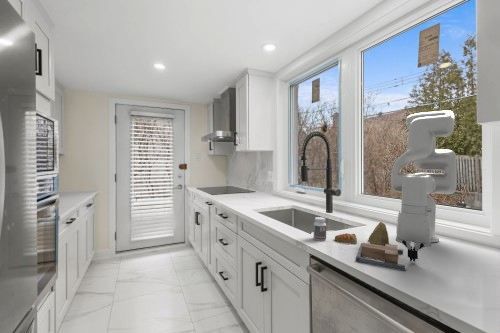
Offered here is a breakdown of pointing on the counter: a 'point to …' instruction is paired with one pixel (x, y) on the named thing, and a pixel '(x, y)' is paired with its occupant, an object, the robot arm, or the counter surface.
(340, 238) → the pastry
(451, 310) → the counter surface
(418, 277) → the counter surface
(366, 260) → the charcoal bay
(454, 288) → the counter surface
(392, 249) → the t block
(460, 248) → the counter surface
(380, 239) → the rock
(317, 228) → the pill bottle
